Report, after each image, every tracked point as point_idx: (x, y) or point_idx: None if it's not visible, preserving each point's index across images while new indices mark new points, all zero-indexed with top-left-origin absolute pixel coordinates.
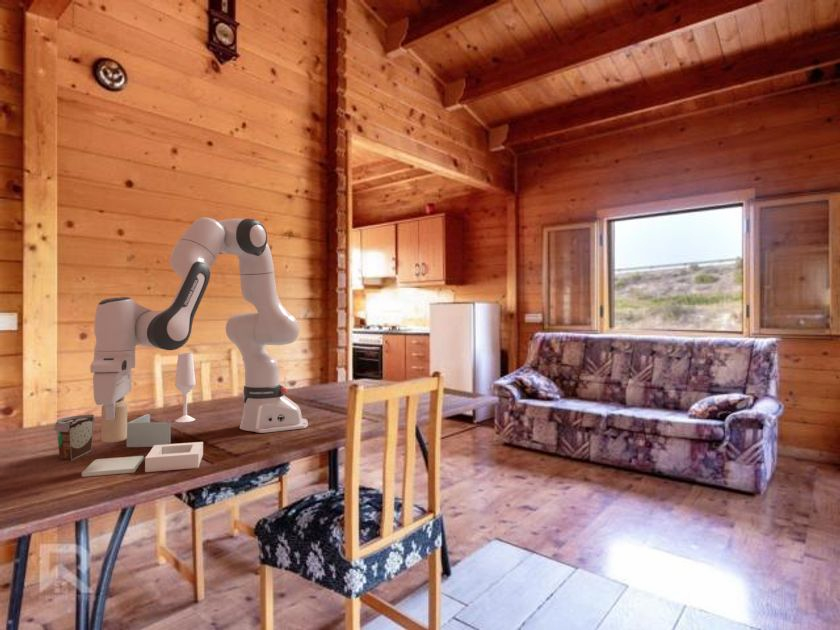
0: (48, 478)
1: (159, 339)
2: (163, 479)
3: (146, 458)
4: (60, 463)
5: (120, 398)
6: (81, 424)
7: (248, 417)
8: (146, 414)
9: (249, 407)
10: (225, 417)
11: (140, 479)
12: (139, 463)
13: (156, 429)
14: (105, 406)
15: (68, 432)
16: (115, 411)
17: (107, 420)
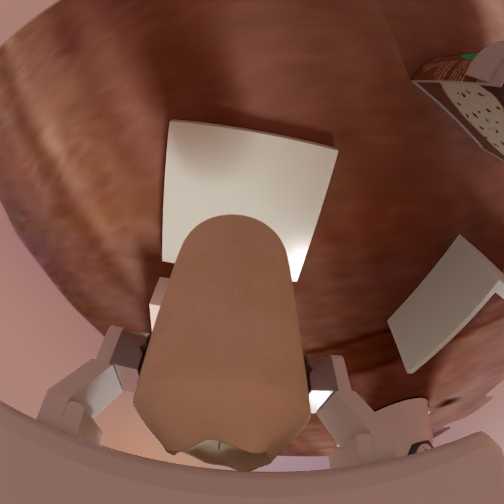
0: (206, 22)
1: None
2: (100, 302)
3: (150, 304)
4: (392, 48)
5: (337, 457)
6: None
7: (392, 427)
8: None
9: (396, 444)
10: (490, 370)
11: (106, 266)
12: None
13: (427, 333)
14: (50, 396)
15: (471, 78)
16: None
17: (156, 319)
